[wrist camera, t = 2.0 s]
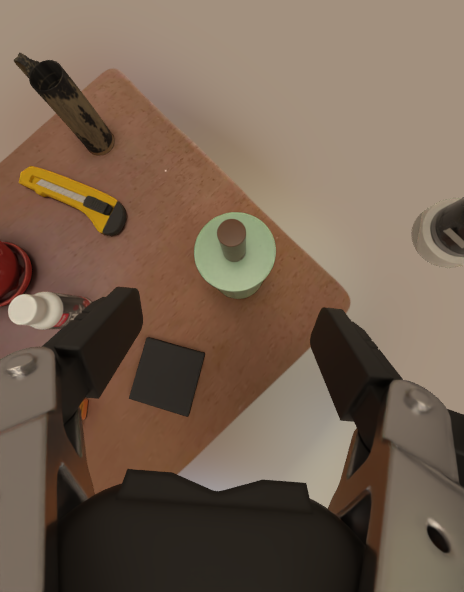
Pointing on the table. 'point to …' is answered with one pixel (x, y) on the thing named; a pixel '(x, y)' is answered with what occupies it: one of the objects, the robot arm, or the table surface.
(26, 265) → the flower pot
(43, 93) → the mug
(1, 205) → the table surface
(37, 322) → the pill bottle
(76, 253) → the table surface
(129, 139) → the table surface
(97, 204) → the utility knife
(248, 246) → the stopper
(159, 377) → the mat
